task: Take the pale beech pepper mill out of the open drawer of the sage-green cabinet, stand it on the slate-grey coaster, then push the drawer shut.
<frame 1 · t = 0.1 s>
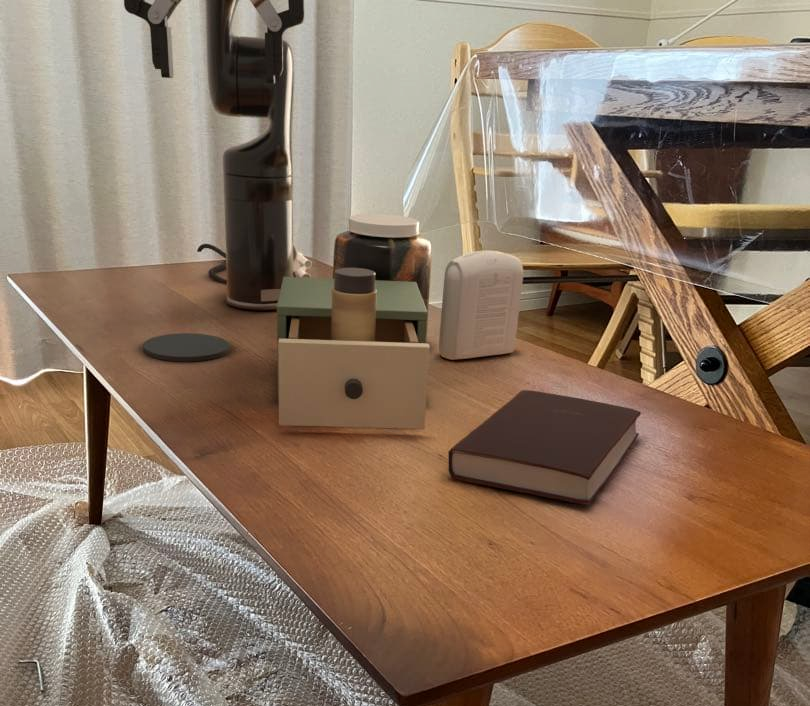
hand: (218, 80, 77), 29 cm above the table, tool pointing down, fingers open, 8 cm apart
coaster: (186, 349, 108), on the table
cream rounded block: (476, 355, 113), on the table
drawer: (352, 368, 89), point 5 cm above the table, slide at 8.0 cm, touching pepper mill
cabinet: (349, 383, 100), on the table
book: (548, 459, 84), on the table
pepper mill: (351, 396, 90), point 2 cm above the table, touching drawer
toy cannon: (285, 276, 148), on the table
jar: (378, 345, 115), on the table
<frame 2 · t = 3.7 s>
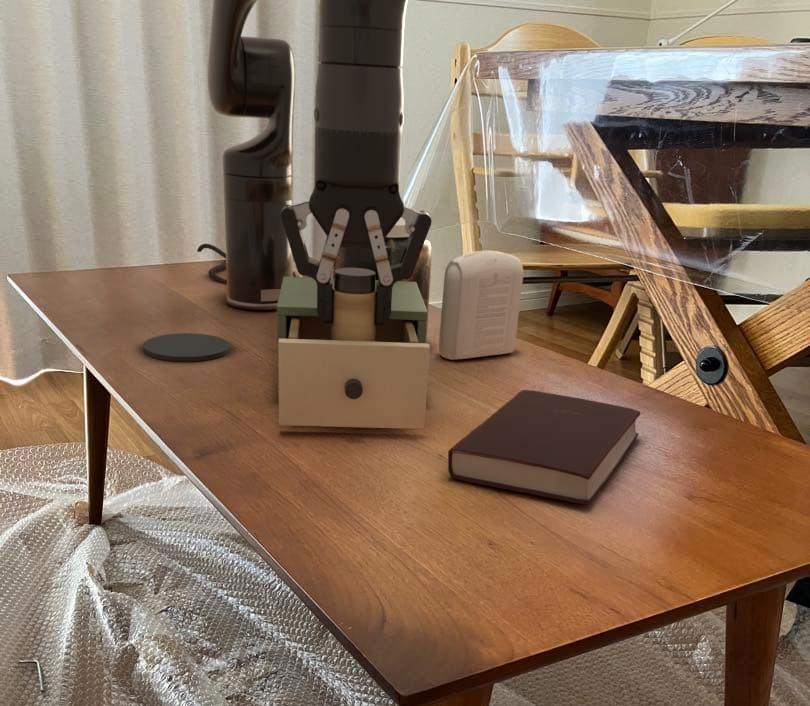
hand: (353, 321, 86), 9 cm above the table, tool pointing down, fingers closed on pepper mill, 4 cm apart
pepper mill: (351, 396, 90), point 2 cm above the table, touching drawer, gripper
everything else where it was.
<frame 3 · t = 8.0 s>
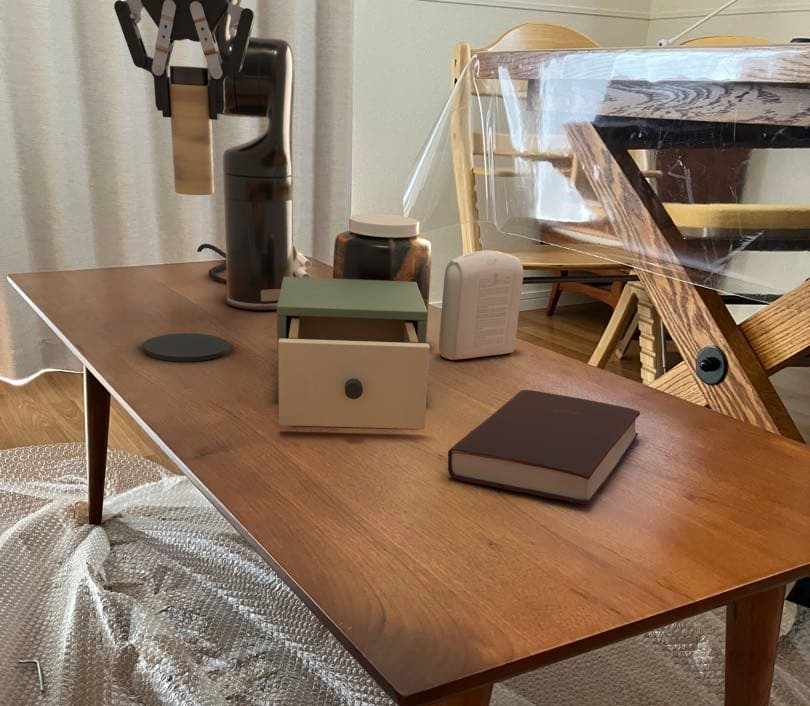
hand: (191, 117, 95), 25 cm above the table, tool pointing down, fingers closed on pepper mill, 4 cm apart
drawer: (352, 368, 89), point 5 cm above the table, slide at 8.0 cm
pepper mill: (195, 192, 98), point 18 cm above the table, touching gripper
everything else where it was.
when the fingers open (8 cm above the table, at t = 12.5 s): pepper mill stays where it is, resting on coaster.
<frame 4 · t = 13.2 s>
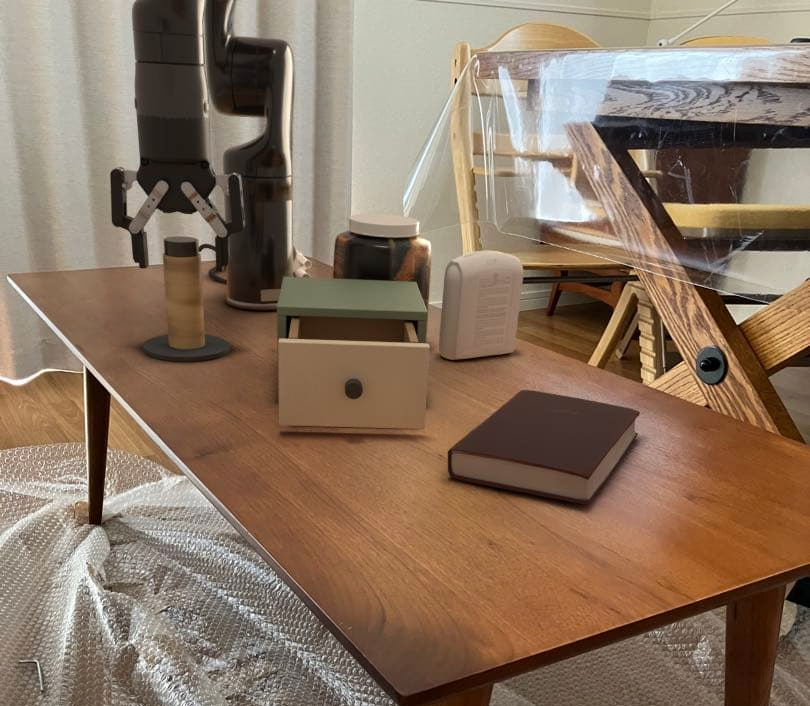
hand: (182, 268, 104), 9 cm above the table, tool pointing down, fingers open, 8 cm apart
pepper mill: (187, 344, 108), point 1 cm above the table, touching coaster
everything else where it was.
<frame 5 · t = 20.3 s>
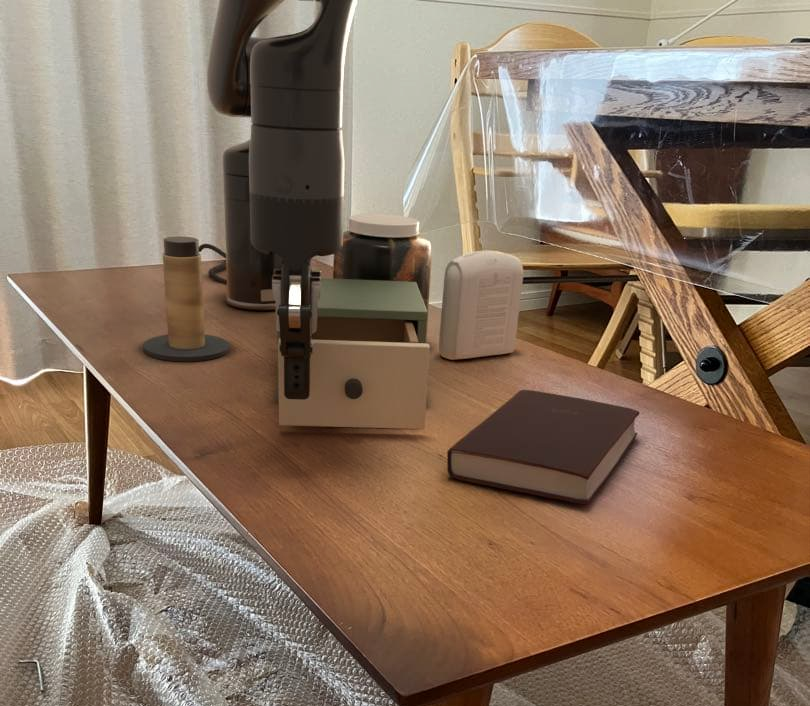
hand: (297, 396, 81), 5 cm above the table, tool pointing down, fingers closed
drawer: (352, 368, 89), point 5 cm above the table, slide at 8.0 cm, touching gripper
everything else where it was.
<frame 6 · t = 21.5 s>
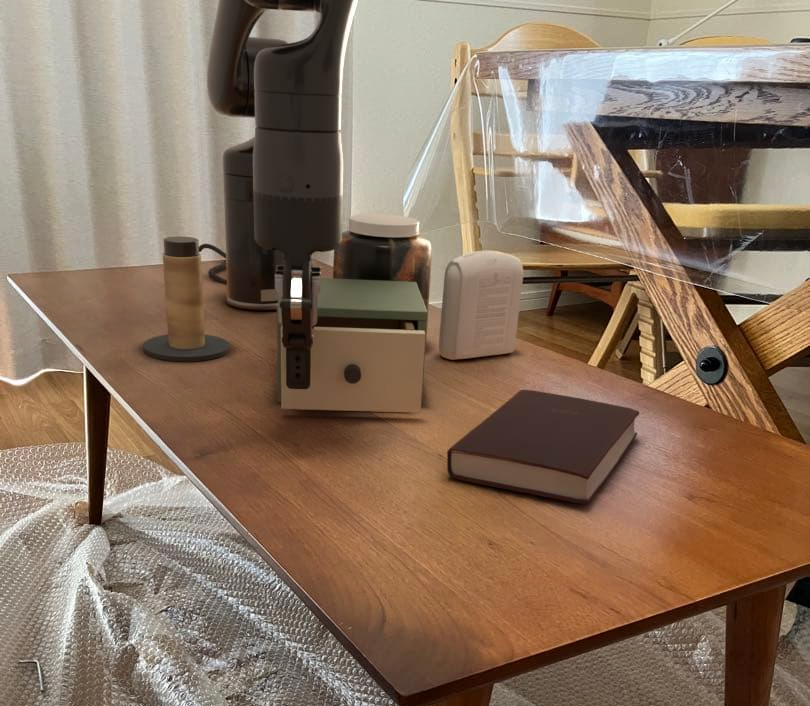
hand: (298, 386, 85), 4 cm above the table, tool pointing down, fingers closed
drawer: (351, 355, 93), point 5 cm above the table, slide at 3.5 cm, touching gripper, hand
everything else where it was.
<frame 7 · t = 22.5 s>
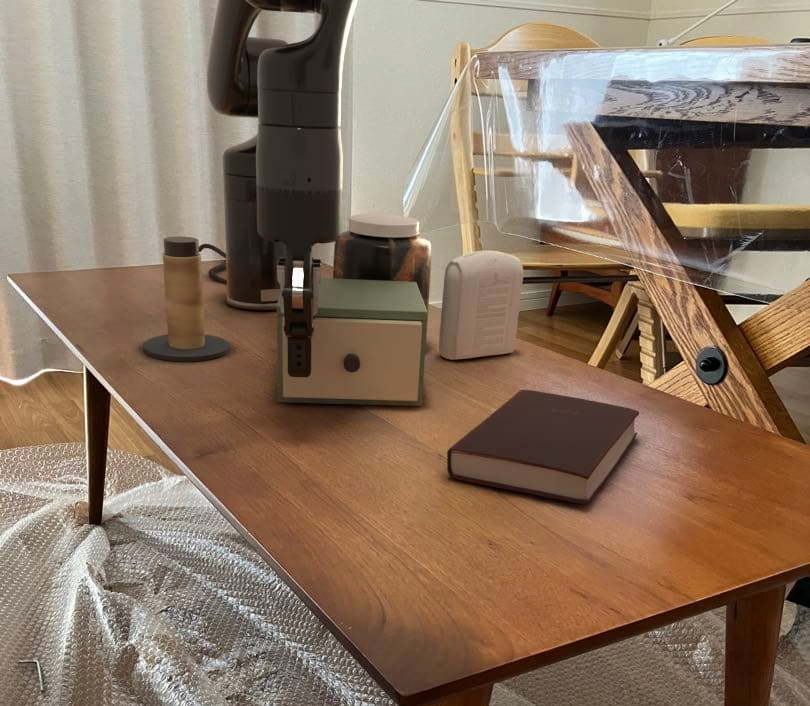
hand: (299, 374, 88), 4 cm above the table, tool pointing down, fingers closed
drawer: (350, 345, 96), point 5 cm above the table, slide at 0.0 cm, touching cabinet, gripper, hand
everything else where it was.
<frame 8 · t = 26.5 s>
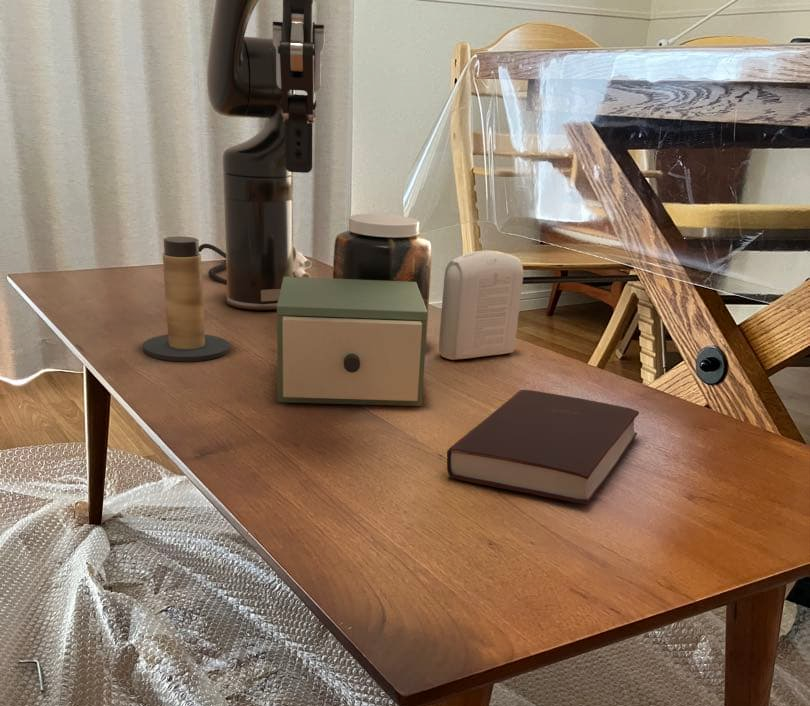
hand: (299, 171, 76), 23 cm above the table, tool pointing down, fingers closed
drawer: (350, 345, 96), point 5 cm above the table, slide at 0.0 cm, touching cabinet
everything else where it was.
at the end: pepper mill inside the target area on the coaster (0.1 cm from its centre), point 0.6 cm above the coaster's base; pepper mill tilted 0°; drawer slide at 0.0 cm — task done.
